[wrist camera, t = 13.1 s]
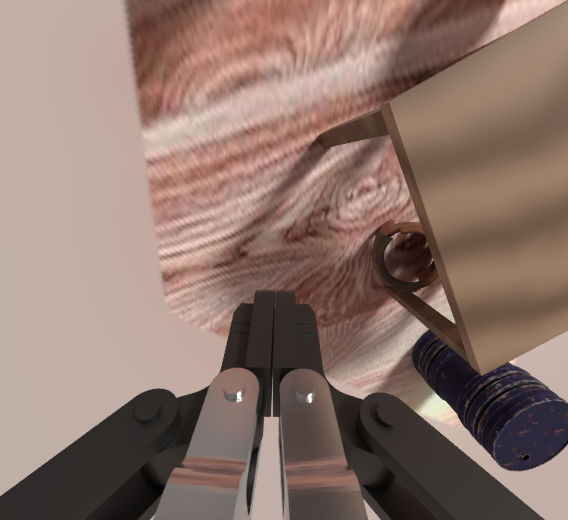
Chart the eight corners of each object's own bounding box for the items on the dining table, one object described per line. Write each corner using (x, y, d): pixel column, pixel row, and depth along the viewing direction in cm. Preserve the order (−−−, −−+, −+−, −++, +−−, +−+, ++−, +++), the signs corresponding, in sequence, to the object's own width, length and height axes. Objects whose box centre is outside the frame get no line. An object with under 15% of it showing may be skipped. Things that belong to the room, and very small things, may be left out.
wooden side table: (317, 133, 32) (389, 102, 16) (430, 69, 31) (610, -24, 16) (388, 294, 39) (481, 375, 24) (479, 245, 39) (632, 296, 24)
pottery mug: (405, 294, 40) (407, 314, 33) (359, 244, 42) (351, 252, 34) (484, 237, 36) (507, 244, 28) (430, 183, 37) (439, 176, 29)
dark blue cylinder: (421, 320, 42) (513, 399, 28) (479, 323, 43) (594, 398, 29) (404, 377, 44) (479, 474, 30) (459, 377, 46) (555, 470, 32)
